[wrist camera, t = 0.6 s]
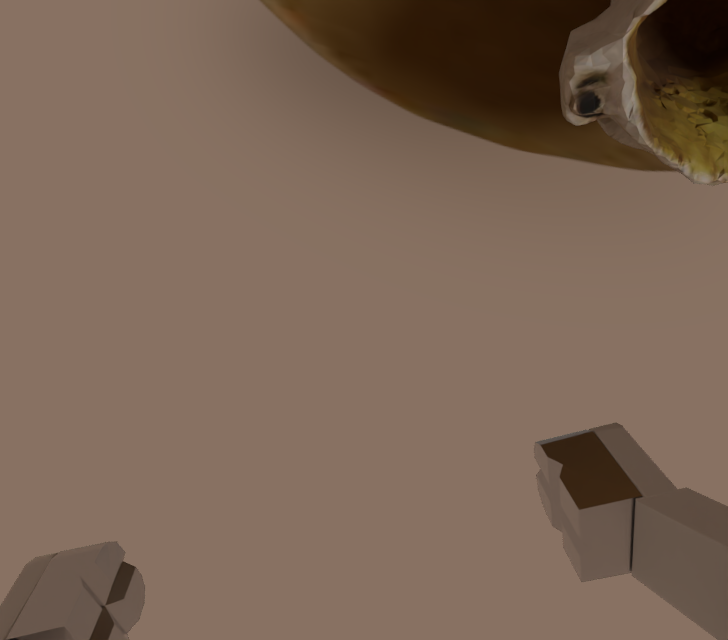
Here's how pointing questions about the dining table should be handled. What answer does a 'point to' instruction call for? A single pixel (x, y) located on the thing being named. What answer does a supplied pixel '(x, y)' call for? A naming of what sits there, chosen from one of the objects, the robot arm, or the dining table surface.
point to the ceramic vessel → (655, 81)
